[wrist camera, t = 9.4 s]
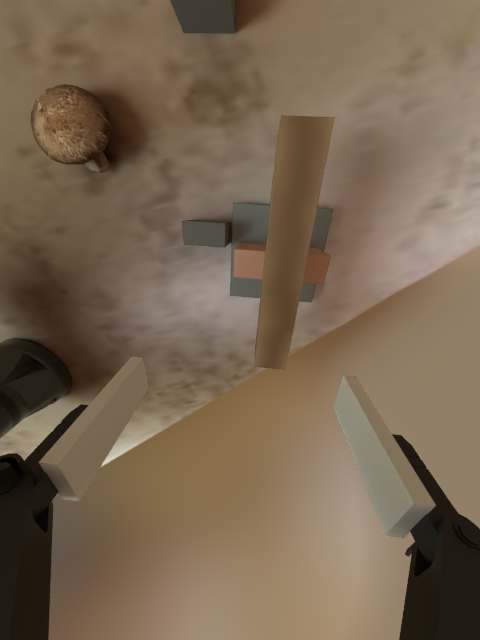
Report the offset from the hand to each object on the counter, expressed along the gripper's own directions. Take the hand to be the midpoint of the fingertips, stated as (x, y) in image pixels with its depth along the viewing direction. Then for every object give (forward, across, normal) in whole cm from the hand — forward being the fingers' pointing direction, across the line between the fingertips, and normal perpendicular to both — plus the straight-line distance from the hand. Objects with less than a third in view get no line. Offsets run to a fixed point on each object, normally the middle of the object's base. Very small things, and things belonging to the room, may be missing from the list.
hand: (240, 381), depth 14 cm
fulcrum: (+19, +3, +5) cm, 20 cm away
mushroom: (+20, -20, +17) cm, 33 cm away
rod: (+12, +3, +5) cm, 14 cm away
